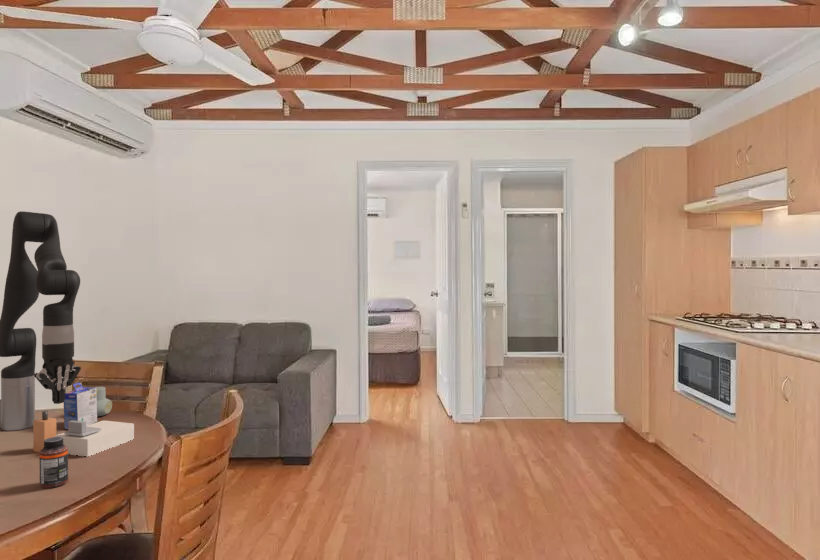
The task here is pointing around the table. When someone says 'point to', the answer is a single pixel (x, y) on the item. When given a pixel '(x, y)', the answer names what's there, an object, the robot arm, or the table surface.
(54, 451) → the supplement bottle
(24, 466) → the table surface
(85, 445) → the socket
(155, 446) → the table surface
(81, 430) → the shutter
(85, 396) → the ink cartridge box
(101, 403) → the air freshener
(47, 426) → the plug
